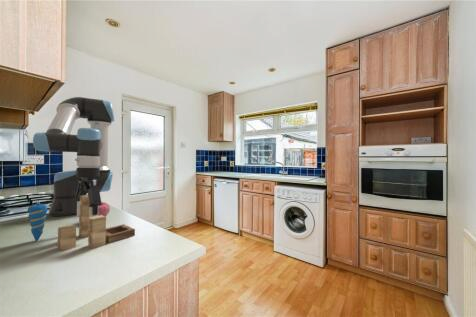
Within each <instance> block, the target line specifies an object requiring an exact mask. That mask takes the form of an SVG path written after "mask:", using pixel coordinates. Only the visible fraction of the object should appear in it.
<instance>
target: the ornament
mask: <svg viewBox="0 0 476 317" xmlns="http://www.w3.org/2000/svg"><path fill="white" fill-rule="evenodd" d="M27 213H28V217H27V218H28V220H29V221H30V222H29V225H30V227H31V230H30V231H31V234H32V236H33V238H34V241H35V242H37V241H39V240H40V237H42V235H43V233H44V228H45V221H46V220H47V214H48V207H47V206H46V204H44V203H41V202H40V201H39V200H37V202H36V203H35V204H32V205H30V206H29V207H28V208H27Z"/></svg>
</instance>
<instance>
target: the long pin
mask: <svg viewBox="0 0 476 317" xmlns="http://www.w3.org/2000/svg"><path fill="white" fill-rule="evenodd" d="M89 205H91V204H90V201H89V197H88V194H87V195H82V196H80V212H79V217H78V220H79V221H78V223H79V225H78V236H79V237H80V238H82V239H84V238H88V229H89V209H90V207H89Z"/></svg>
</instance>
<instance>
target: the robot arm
mask: <svg viewBox="0 0 476 317" xmlns="http://www.w3.org/2000/svg"><path fill="white" fill-rule="evenodd" d="M113 108H114V107H113V103H112V102H111V101H109V100H103V99H95V98H88V97H82V96H74V97H70V98H68V99H64V100H62V101H61V102H60V103H59V104H58V105H57V106H56V110H55V111H56V114H55V116H54V117H53V119H52V120H51V123H50V124H49V126H48V128H47V130H46V132H44V131H43V132H36V133H34V135H33V137H32V145H33V148H34V149H35V150H36V151H37V152H38V151H39V152H46V153H47V152H48V153H50V152H52V153H53V152H56V153H57V152H58V153H63V152H64V153H76V158H74V160H75V162H76V166H77V167H76V168H75V170H73V169H72V170H67V171H59V172H56V173H55V174H54V176H53V177H54V178H53V200H52V203H51V205H50V207H49V210H48V216H51V217H65V216H71V215H76V218H79V212H80V196H82V195H88V197H89V201H90V204H91V205H89V207H90V209H89V217H94V216H98V209H99V205H101V202H102V198H101V193H102V192H109V191H110V190H111V188H112V181H113V175H114V173H113V171H111V168H110V167H109V166H108V162H109V161H108V160H109V159H108V158H109V156H108V155H109V153H108V152H109V151H108V150H109V127H110V126H111V125H112V122H114V121H115V117H114V109H113ZM78 119H86V120H87V124H89V125H90V128H89V127H79V128H78V129H77V133H76V134H71V131H73V130H72V129H73V127H74V124H75V122H76V121H77V120H78Z"/></svg>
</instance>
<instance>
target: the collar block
mask: <svg viewBox="0 0 476 317" xmlns="http://www.w3.org/2000/svg"><path fill="white" fill-rule="evenodd" d="M135 232H136V229H135V228H133V227H131V226H129V225H126V224H125V223H124V224H120V225H115V226H112V227H108V228H107V227H106V240H105V243H108V244H111V243H114V242H117V241H120V240H124V239H128V238H131V237H134V236H136V235H135V234H136V233H135Z"/></svg>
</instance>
